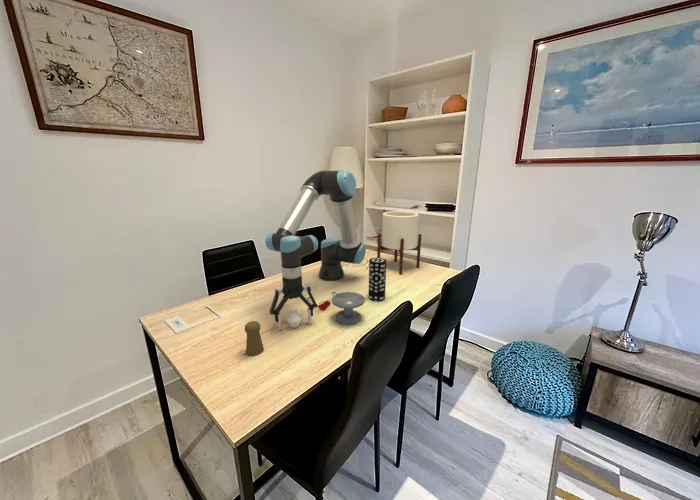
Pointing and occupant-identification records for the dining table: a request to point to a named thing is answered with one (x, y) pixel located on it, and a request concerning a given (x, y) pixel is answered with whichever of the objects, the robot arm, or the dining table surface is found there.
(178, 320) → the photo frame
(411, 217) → the plant pot with stand
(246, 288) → the dining table surface
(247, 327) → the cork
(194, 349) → the dining table surface
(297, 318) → the muffin
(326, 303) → the glasses
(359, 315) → the cake stand
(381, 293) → the spotted tube
